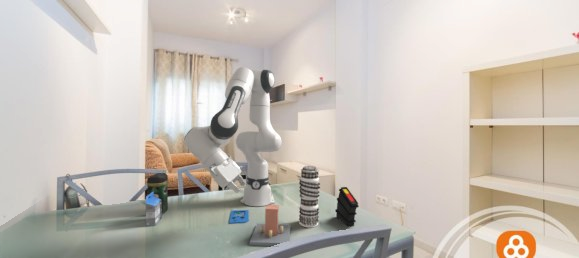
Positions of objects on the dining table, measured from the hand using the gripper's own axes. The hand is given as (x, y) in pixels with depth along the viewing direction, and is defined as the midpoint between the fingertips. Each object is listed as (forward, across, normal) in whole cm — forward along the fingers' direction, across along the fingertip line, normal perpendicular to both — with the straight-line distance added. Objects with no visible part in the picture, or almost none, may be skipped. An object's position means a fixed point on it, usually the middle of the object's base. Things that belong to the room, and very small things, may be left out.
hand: (241, 188), depth 94 cm
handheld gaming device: (+10, +18, +17) cm, 27 cm away
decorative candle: (+32, +13, -6) cm, 35 cm away
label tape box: (-15, +9, +41) cm, 45 cm away
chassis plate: (+21, 0, +4) cm, 22 cm away
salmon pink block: (+20, 0, +4) cm, 21 cm away
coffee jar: (-19, +20, +45) cm, 53 cm away
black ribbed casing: (+44, +16, -18) cm, 50 cm away
